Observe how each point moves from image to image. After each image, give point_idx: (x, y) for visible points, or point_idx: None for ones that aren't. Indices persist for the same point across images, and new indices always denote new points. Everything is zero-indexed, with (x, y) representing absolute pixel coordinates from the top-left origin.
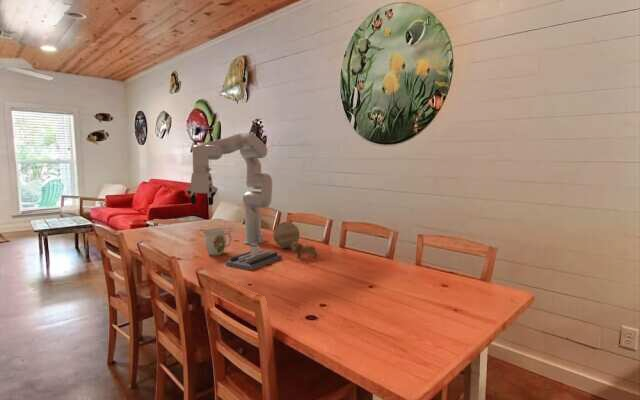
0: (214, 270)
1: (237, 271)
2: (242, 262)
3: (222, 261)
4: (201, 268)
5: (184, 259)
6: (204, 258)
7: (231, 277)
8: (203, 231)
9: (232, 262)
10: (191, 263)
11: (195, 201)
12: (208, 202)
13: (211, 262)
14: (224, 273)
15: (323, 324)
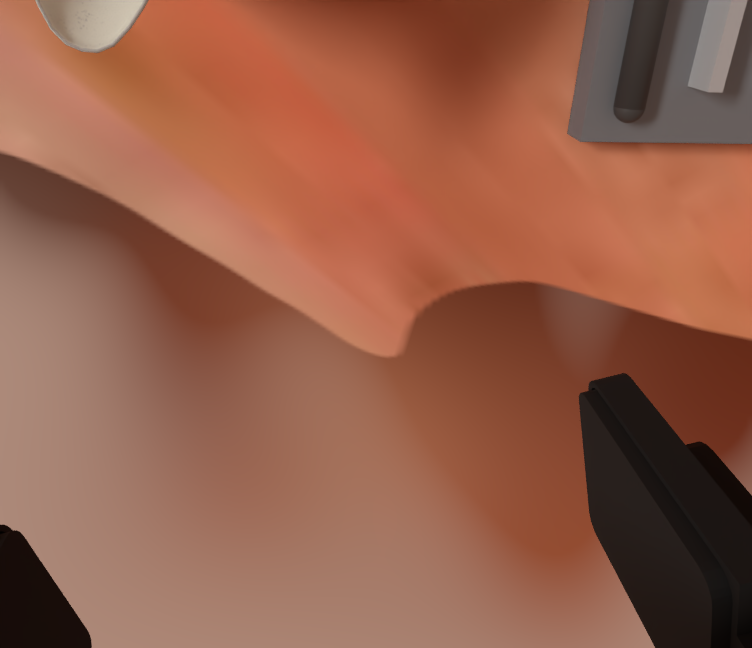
0: (559, 270)
1: (731, 204)
2: (735, 90)
3: (462, 51)
4: (440, 285)
5: (105, 185)
6: (233, 62)
7: (748, 314)
8: (116, 42)
9: (650, 135)
10: (267, 237)
11: (2, 606)
12: (629, 582)
13: (394, 129)
14: (664, 282)
15: None
